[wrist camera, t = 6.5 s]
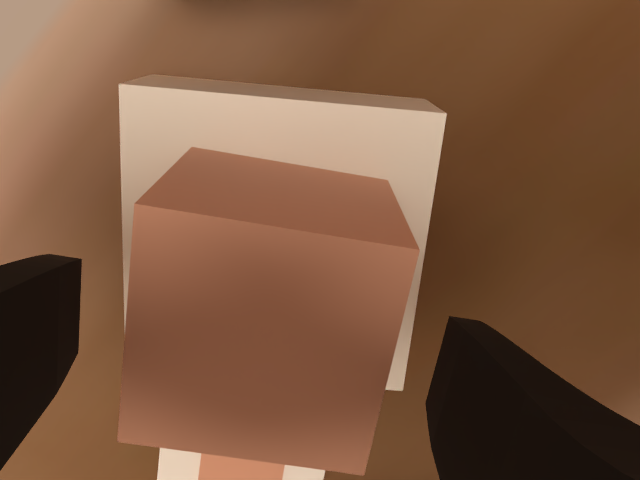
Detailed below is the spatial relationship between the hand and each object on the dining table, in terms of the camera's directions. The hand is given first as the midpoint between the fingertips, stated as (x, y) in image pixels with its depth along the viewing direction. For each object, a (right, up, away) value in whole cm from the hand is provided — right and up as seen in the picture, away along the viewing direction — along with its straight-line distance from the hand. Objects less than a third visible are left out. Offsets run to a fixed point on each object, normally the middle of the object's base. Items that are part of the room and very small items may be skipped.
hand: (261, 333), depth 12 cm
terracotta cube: (0, +1, +4) cm, 5 cm away
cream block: (0, +3, +7) cm, 8 cm away
